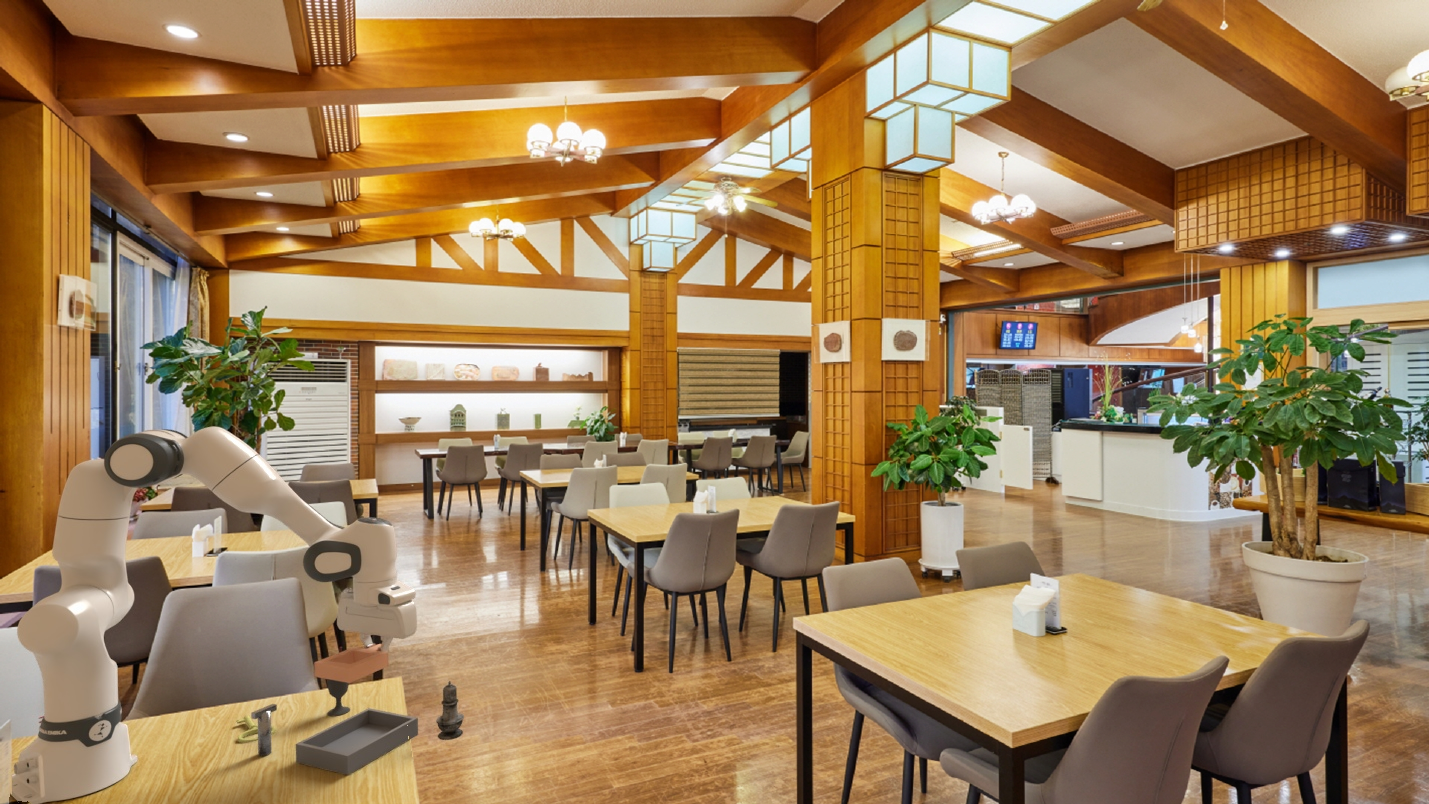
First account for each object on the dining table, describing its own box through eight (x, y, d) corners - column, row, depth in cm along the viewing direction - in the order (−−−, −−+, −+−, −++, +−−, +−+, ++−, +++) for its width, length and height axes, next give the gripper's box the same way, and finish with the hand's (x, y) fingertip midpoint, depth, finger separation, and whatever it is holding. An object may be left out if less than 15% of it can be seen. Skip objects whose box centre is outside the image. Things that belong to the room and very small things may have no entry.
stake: (250, 757, 153) (249, 712, 153) (271, 747, 158) (270, 703, 158) (257, 759, 152) (257, 714, 152) (279, 749, 157) (278, 704, 157)
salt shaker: (455, 741, 160) (454, 687, 159) (430, 739, 161) (430, 685, 161) (469, 729, 165) (468, 676, 165) (445, 727, 166) (445, 675, 166)
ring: (349, 683, 149) (349, 668, 149) (314, 676, 153) (314, 662, 153) (401, 660, 162) (400, 647, 162) (367, 655, 165) (367, 641, 165)
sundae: (350, 703, 180) (349, 642, 180) (357, 712, 175) (356, 650, 175) (320, 711, 176) (319, 649, 176) (326, 720, 171) (325, 656, 171)
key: (247, 723, 171) (247, 714, 171) (280, 733, 166) (280, 724, 165) (215, 736, 165) (214, 726, 165) (247, 747, 159) (247, 738, 159)
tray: (296, 762, 151) (295, 744, 151) (369, 724, 168) (368, 708, 168) (348, 775, 146) (347, 756, 146) (418, 734, 163) (417, 717, 163)
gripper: (329, 590, 163) (330, 652, 163) (399, 598, 155) (400, 664, 155) (352, 583, 168) (353, 643, 169) (421, 591, 161) (422, 654, 161)
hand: (376, 653), depth 162 cm, fingers closed on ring, 3 cm apart
